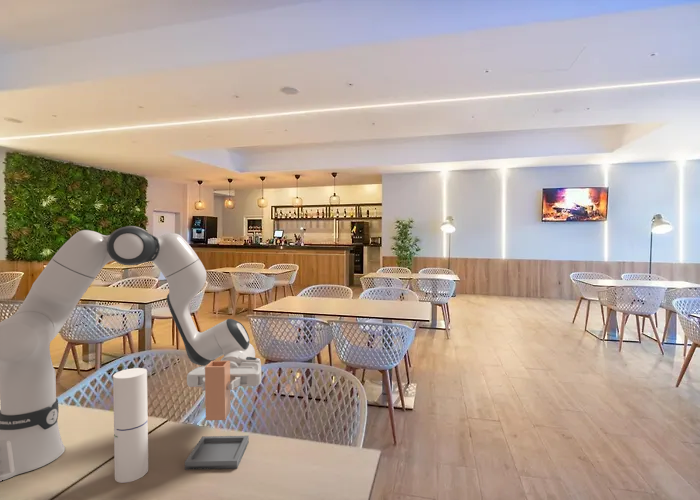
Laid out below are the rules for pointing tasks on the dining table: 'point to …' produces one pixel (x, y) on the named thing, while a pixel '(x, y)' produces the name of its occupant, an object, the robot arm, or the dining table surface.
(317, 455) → the dining table surface
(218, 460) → the tray
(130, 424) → the cylindrical container
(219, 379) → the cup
